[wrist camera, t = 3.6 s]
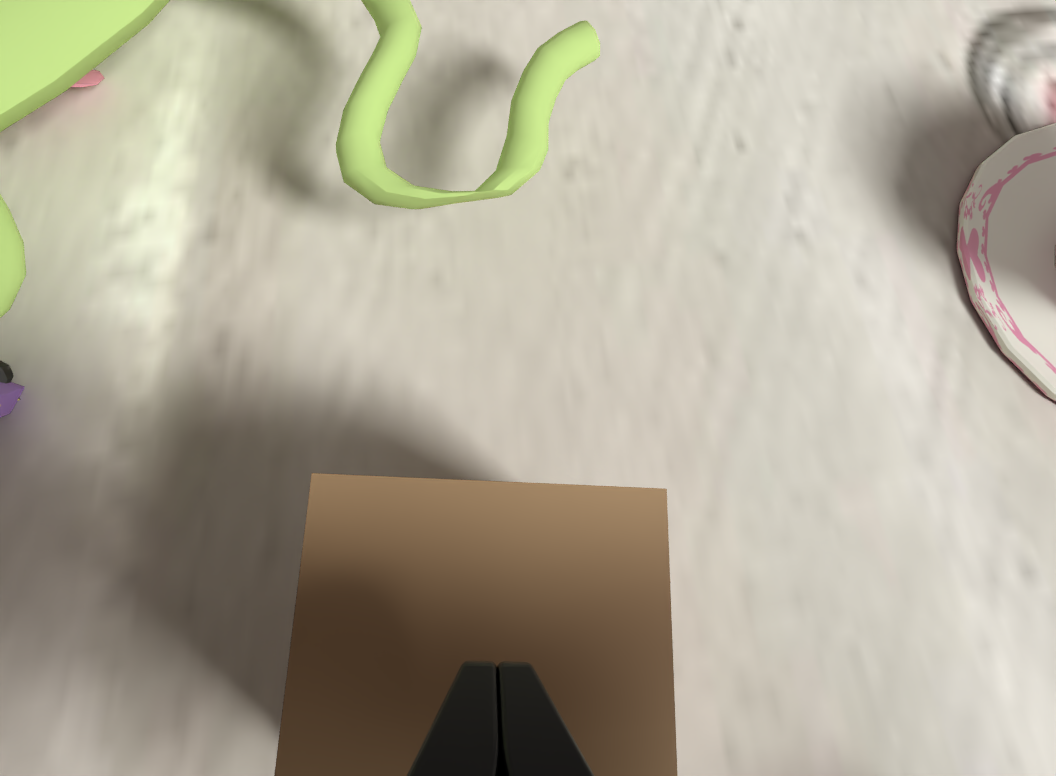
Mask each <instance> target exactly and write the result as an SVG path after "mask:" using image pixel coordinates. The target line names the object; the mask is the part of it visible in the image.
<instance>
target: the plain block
mask: <svg viewBox="0 0 1056 776" xmlns="http://www.w3.org/2000/svg"><path fill="white" fill-rule="evenodd" d="M465 661H493V662H494V663H495V664H496V667H497V665H498V664H499V663H500V662H502V661H515V662H528V663H530V664H531V665H532V666H533V667H534V669H535V671H536V672H537V674H538V676H539V678H540V680H541V681H542V683H543V685H544V687H545V689H546V690H547V692H548V694H549V696H550V697H551V699H552V701H553V703H554V705H555V706H556V708H557V710H558V712H559V713H560V715H561V717H562V719H563V721H564V722H565V724H566V726H567V728H568V729H569V731H570V733H571V735H572V737H573V738H574V740H575V742H576V744H577V745H578V747H579V749H580V751H581V753H582V754H583V756H584V758H585V760H586V762H587V763H588V765H589V767H590V769H591V770H592V772H593V774H594V776H677V755H676V728H675V701H674V675H673V648H672V621H671V595H670V568H669V542H668V515H667V489H659V488H636V487H614V486H591V485H568V484H546V483H523V482H501V481H478V480H455V479H433V478H410V477H387V476H365V475H342V474H320V473H312V475H311V483H310V491H309V499H308V507H307V515H306V523H305V531H304V540H303V548H302V556H301V564H300V572H299V580H298V588H297V597H296V605H295V613H294V621H293V629H292V637H291V645H290V653H289V662H288V670H287V678H286V686H285V694H284V702H283V710H282V718H281V727H280V735H279V743H278V751H277V759H276V767H275V775H274V776H407V774H408V772H409V770H410V768H411V766H412V764H413V762H414V760H415V758H416V756H417V754H418V752H419V750H420V748H421V746H422V744H423V742H424V740H425V737H426V735H427V733H428V731H429V729H430V727H431V725H432V723H433V721H434V719H435V717H436V715H437V713H438V711H439V709H440V707H441V705H442V703H443V701H444V699H445V697H446V695H447V693H448V691H449V689H450V686H451V684H452V682H453V680H454V678H455V676H456V674H457V672H458V670H459V668H460V666H461V665H462V664H463V662H465Z"/></svg>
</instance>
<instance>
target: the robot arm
mask: <svg viewBox="0 0 1056 776" xmlns="http://www.w3.org/2000/svg"><path fill="white" fill-rule="evenodd" d="M407 776H594V774H593V772H592V770H591V769H590V767H589V765H588V763H587V762H586V760H585V758H584V756H583V754H582V753H581V751H580V749H579V747H578V745H577V744H576V742H575V740H574V738H573V737H572V735H571V733H570V731H569V729H568V728H567V726H566V724H565V722H564V721H563V719H562V717H561V715H560V713H559V712H558V710H557V708H556V706H555V705H554V703H553V701H552V699H551V697H550V696H549V694H548V692H547V690H546V689H545V687H544V685H543V683H542V681H541V680H540V678H539V676H538V674H537V672H536V671H535V669H534V667H533V666H532V665H531V664H530V663H528V662H515V661H502V662H500V663H499V664H498V665H497V667H496V664H495V663H494V662H493V661H465V662H463V664H462V665H461V666H460V668H459V670H458V672H457V674H456V676H455V678H454V680H453V682H452V684H451V686H450V689H449V691H448V693H447V695H446V697H445V699H444V701H443V703H442V705H441V707H440V709H439V711H438V713H437V715H436V717H435V719H434V721H433V723H432V725H431V727H430V729H429V731H428V733H427V735H426V737H425V740H424V742H423V744H422V746H421V748H420V750H419V752H418V754H417V756H416V758H415V760H414V762H413V764H412V766H411V768H410V770H409V772H408V774H407Z"/></svg>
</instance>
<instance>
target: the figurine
mask: <svg viewBox="0 0 1056 776" xmlns="http://www.w3.org/2000/svg"><path fill="white" fill-rule="evenodd" d="M169 1H170V0H0V132H1V131H3V130H4V129H6V128H7V127H9V126H11V125H12V124H14V123H15V122H17V121H19V120H20V119H22V118H23V117H25V116H27V115H28V114H30V113H31V112H33V111H35V110H36V109H38V108H39V107H41V106H43V105H44V104H46V103H47V102H49V101H51V100H52V99H54V98H55V97H57V96H58V95H60V94H62V93H63V92H65V91H66V90H67V89H69V88H70V87H86V86H92V85H98V84H99V83H100V82H101V81H102V80H103V79H104V77H103V75H102V74H101V73H100V71H96V70H92V69H93V68H95V67H96V66H97V65H98V64H100V63H101V62H102V61H103V60H105V59H106V58H107V57H108V56H110V55H111V54H112V53H113V52H115V51H116V50H117V49H118V48H119V47H121V46H122V45H123V44H124V43H126V42H127V41H128V40H129V39H131V38H132V37H133V36H134V35H136V34H137V33H138V32H139V31H141V30H142V29H143V28H144V27H145V26H147V25H148V24H149V23H150V22H151V21H152V20H153V19H154V17H155V16H156V15H157V14H158V13H159V12H160V11H161V10H162V9H163V7H164V6H165V5H166V4H167V3H168V2H169ZM361 1H362V2H363V4H364V5H365V7H366V8H367V10H368V11H369V13H370V14H371V16H372V17H373V19H374V21H375V23H376V26H377V29H378V31H379V34H380V39H379V41H378V43H377V46H376V48H375V50H374V52H373V54H372V56H371V57H370V59H369V61H368V63H367V65H366V66H365V68H364V70H363V72H362V74H361V76H360V77H359V79H358V81H357V83H356V85H355V87H354V89H353V91H352V93H351V96H350V98H349V100H348V102H347V104H346V106H345V108H344V110H343V115H342V119H341V124H340V128H339V133H338V137H337V142H336V153H337V157H338V161H339V165H340V169H341V173H342V177H343V181H344V183H346V184H347V185H349V186H350V187H351V188H353V189H354V190H356V191H357V192H358V193H360V194H361V195H363V196H364V197H365V198H367V199H368V200H370V201H371V202H372V203H374V204H378V205H385V206H393V207H400V208H407V209H423V208H430V207H436V206H442V205H448V204H454V203H462V202H469V201H477V200H484V199H492V198H499V197H504V196H508V195H512V194H513V193H514V192H515V191H516V190H517V189H519V188H520V187H521V186H522V185H523V184H524V183H526V182H527V181H528V180H529V179H530V178H531V177H533V176H534V175H535V174H536V173H537V172H538V171H539V170H540V168H541V166H542V163H543V161H544V159H545V156H546V154H547V151H548V123H549V119H550V116H551V113H552V110H553V106H554V103H555V100H556V97H557V95H558V93H559V92H560V90H561V88H562V86H563V84H564V82H565V80H566V79H567V78H569V77H570V76H571V75H572V74H574V73H575V72H576V71H577V70H579V69H581V68H583V67H584V66H586V65H588V64H589V63H591V62H593V61H595V60H596V59H597V58H598V57H599V56H600V42H599V39H598V37H597V34H596V31H595V29H594V28H593V27H592V26H591V25H590V24H589V23H588V21H580V22H578V23H576V24H574V25H572V26H570V27H568V28H566V29H564V30H563V31H561V32H559V33H557V34H556V35H555V36H553V37H552V38H551V39H549V40H548V41H547V42H545V43H544V44H543V45H541V46H540V47H539V48H537V50H536V52H535V53H534V55H533V56H532V58H531V60H530V61H529V63H528V64H527V66H526V68H525V69H524V71H523V73H522V76H521V78H520V81H519V83H518V86H517V88H516V91H515V93H514V96H513V98H512V101H511V108H510V115H509V123H508V131H507V137H506V140H505V143H504V146H503V150H502V153H501V156H500V159H499V162H498V165H497V169H496V171H495V172H494V173H493V174H492V175H491V176H490V177H489V178H488V179H487V180H486V181H485V182H484V183H483V184H482V185H481V186H480V187H479V188H477V189H476V190H475V191H446V190H439V189H433V188H426V187H419V186H414V185H412V184H411V183H409V182H408V181H406V180H404V179H403V178H401V177H400V176H398V175H397V174H395V173H394V172H392V171H391V170H389V169H388V168H387V167H386V164H385V160H384V156H383V152H382V149H381V145H380V138H381V134H382V131H383V127H384V123H385V119H386V115H387V111H388V109H389V107H390V105H391V103H392V101H393V99H394V97H395V95H396V93H397V91H398V89H399V87H400V85H401V83H402V81H403V79H404V77H405V75H406V73H407V71H408V70H409V68H410V66H411V64H412V62H413V60H414V58H415V57H416V52H417V47H418V43H419V38H420V33H421V29H422V27H421V25H420V22H419V20H418V18H417V15H416V13H415V11H414V9H413V6H412V4H411V2H410V0H361ZM25 276H26V266H25V255H24V244H23V240H22V238H21V236H20V233H19V231H18V229H17V226H16V224H15V222H14V219H13V217H12V215H11V212H10V210H9V208H8V207H7V205H6V203H5V202H4V200H3V198H2V197H1V195H0V318H1V317H2V316H3V315H4V314H5V313H6V312H7V311H8V310H10V308H11V306H12V304H13V301H14V299H15V297H16V295H17V293H18V291H19V289H20V287H21V284H22V282H23V280H24V278H25ZM12 378H13V373H12V371H11V368H10V366H9V365H7V364H6V363H4V362H2V361H0V418H1V417H3V416H5V415H8V414H10V413H11V411H12V409H13V408H14V406H15V404H16V402H17V401H18V400H20V398H19V397H20V395H21V393H22V391H23V389H24V386H21V385H18V384H15V383H12V382H11V381H12Z"/></svg>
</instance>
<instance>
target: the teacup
mask: <svg viewBox="0 0 1056 776" xmlns="http://www.w3.org/2000/svg"><path fill="white" fill-rule="evenodd" d="M1055 247H1056V123H1054V124H1051V125H1047V126H1044V127H1041V128H1038V129H1035V130H1031V131H1028V132H1025V133H1022V134H1018V135H1015V136H1014V137H1013V138H1011V139H1010V140H1009V141H1008V142H1006V143H1005V144H1004V145H1003V146H1002V147H1000V148H999V149H998V150H997V151H996V152H994V153H993V154H992V155H991V156H990V157H988V158H987V159H986V160H985V161H983V162H982V163H981V164H980V165H979V166H978V167H977V169H976V171H975V173H974V175H973V177H972V179H971V181H970V183H969V185H968V187H967V189H966V192H965V194H964V196H963V198H962V200H961V202H960V204H959V219H958V235H957V253H958V257H959V261H960V264H961V268H962V272H963V275H964V279H965V282H966V286H967V290H968V293H969V297H970V300H971V302H972V304H973V306H974V307H975V309H976V311H977V312H978V314H979V316H980V317H981V319H982V321H983V322H984V324H985V325H986V327H987V329H988V330H989V332H990V334H991V335H992V337H993V339H994V340H995V342H996V344H997V345H998V347H999V348H1000V350H1001V352H1002V353H1003V354H1004V355H1005V356H1006V357H1007V358H1008V359H1009V360H1010V361H1011V362H1012V363H1013V364H1014V365H1015V366H1016V367H1017V368H1018V369H1020V370H1021V371H1022V372H1023V373H1024V374H1025V375H1026V376H1027V377H1028V378H1029V379H1030V380H1031V381H1032V382H1033V383H1034V384H1035V385H1036V386H1037V387H1038V388H1039V389H1040V390H1041V391H1042V392H1043V393H1044V394H1045V395H1046V396H1047V397H1049V398H1051V399H1052V400H1054V401H1056V268H1055Z"/></svg>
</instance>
